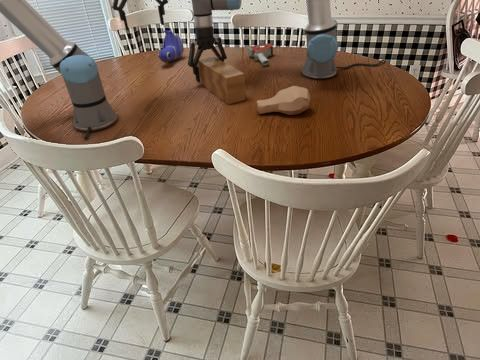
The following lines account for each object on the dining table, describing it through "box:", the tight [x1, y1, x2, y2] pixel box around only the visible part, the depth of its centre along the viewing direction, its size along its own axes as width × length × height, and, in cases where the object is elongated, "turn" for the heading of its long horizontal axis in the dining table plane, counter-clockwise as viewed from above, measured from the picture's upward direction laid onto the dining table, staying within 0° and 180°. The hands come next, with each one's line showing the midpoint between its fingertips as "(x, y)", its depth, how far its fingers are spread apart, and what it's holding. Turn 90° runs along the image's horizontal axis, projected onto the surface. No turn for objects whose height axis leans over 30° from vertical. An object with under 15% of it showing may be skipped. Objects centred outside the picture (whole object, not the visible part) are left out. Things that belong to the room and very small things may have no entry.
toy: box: [157, 30, 185, 67], centre depth 184 cm, size 10×17×25 cm
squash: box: [255, 85, 312, 116], centre depth 130 cm, size 11×20×9 cm, turn 92°
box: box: [197, 54, 246, 105], centre depth 149 cm, size 30×8×11 cm, turn 29°
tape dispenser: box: [247, 43, 274, 67], centre depth 182 cm, size 18×5×20 cm
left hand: (145, 27), depth 136 cm, fingers open, 13 cm apart
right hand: (209, 78), depth 159 cm, fingers open, 10 cm apart
